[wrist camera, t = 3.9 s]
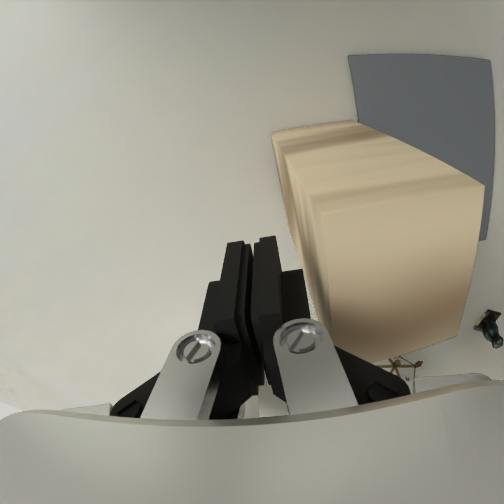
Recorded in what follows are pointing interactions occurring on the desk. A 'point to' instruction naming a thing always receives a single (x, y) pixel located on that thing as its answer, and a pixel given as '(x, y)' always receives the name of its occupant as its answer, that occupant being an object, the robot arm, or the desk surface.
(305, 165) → the maple block
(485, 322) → the sculpture
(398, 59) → the slate mat
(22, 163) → the desk surface
